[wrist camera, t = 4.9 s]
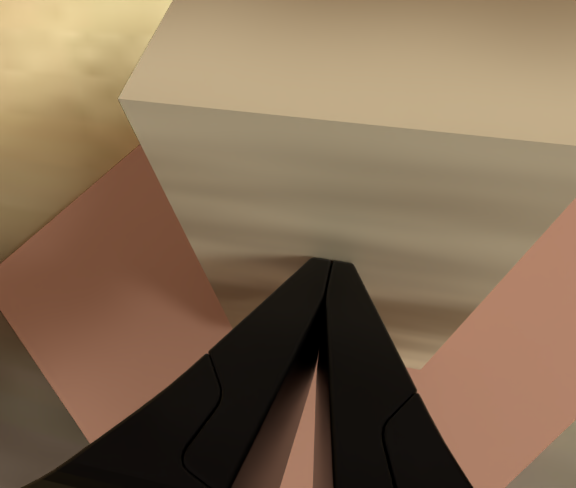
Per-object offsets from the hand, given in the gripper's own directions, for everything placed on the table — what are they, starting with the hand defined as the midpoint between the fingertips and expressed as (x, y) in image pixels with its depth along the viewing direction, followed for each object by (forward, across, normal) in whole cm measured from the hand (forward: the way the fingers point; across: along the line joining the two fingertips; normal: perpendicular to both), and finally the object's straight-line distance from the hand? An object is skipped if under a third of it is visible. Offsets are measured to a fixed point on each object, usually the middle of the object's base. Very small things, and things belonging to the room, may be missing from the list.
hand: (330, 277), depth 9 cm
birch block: (+4, 0, +4) cm, 6 cm away
